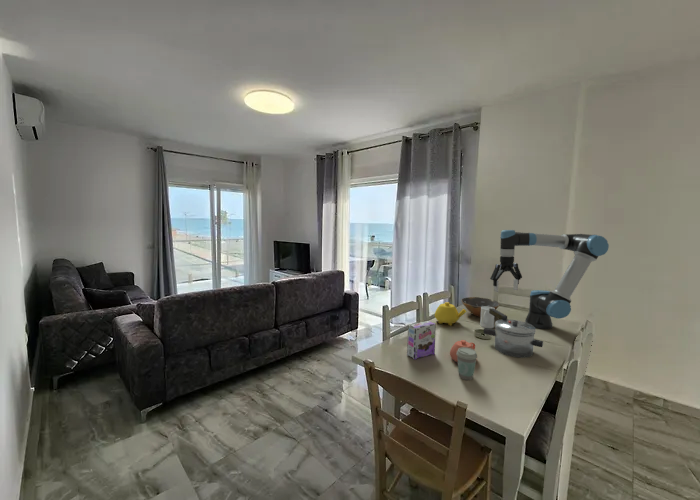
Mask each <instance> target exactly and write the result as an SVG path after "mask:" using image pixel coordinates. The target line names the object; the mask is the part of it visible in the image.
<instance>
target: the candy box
mask: <svg viewBox="0 0 700 500" xmlns="http://www.w3.org/2000/svg"><path fill="white" fill-rule="evenodd" d="M436 328H437V325H436V323H435V322H432V321H430V320H426V321H421V322H416V323H411V324H408V325H407V342H406V343H407V345H406V347H407V348H406V351H407V352H406V355H407V357H409V356H410V357H409V358H411V359H412V358H413V359H412V360H418V359H421V357H422V358H424V356H426V357H429V356H432V354H433V355H435V353H436V350H435V349H436ZM417 358H418V359H417Z"/></svg>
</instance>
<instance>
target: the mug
mask: <svg viewBox="0 0 700 500" xmlns="http://www.w3.org/2000/svg"><path fill="white" fill-rule="evenodd" d="M489 309H493V307H488V306H483V307H481V317H480V323H479V327H482V328H483V329H485V328H488V329H493V328H495V316H493V315H492V314H490V313H489ZM494 309H495V308H494Z"/></svg>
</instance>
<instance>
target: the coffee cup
mask: <svg viewBox="0 0 700 500" xmlns="http://www.w3.org/2000/svg"><path fill="white" fill-rule="evenodd" d="M456 354H457V359H458V362H457V369H458V370H457V371H458V377H459V378H461V379H462V380H463V381H464V380H465V381H471V380H473V378H474V372H475V369H476V362H477V359H478V354H477V351H476V349H475V350H473V349H471V348H466V347H462V348H459V349H458V351H457V353H456Z"/></svg>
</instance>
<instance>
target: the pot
mask: <svg viewBox="0 0 700 500" xmlns="http://www.w3.org/2000/svg"><path fill="white" fill-rule="evenodd" d="M494 328H495V329H493V328H483V334H485V335H489V336H492V337H493V336H494V349H495V350H496V351H497V352H499V353H501V354H503V355H505V356H510V357H514V358H530V357H532V356H533V355H534V346H535V347H538V348H543V346H544V340H539V339H535V334H536V332H535V333H533V334H514V333H509V332H506V331H503V330H500V329H499V328H497V327H496V326H495V325H494Z"/></svg>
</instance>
